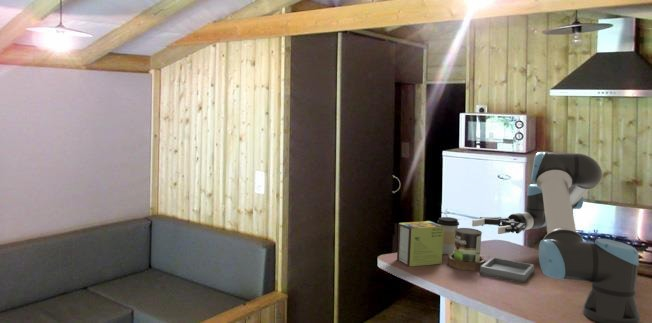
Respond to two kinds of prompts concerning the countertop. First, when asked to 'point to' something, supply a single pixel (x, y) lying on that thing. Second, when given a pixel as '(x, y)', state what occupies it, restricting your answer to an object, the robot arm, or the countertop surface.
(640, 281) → the countertop surface
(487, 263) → the tray
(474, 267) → the holder ring
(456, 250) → the coffee can
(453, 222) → the coffee cup
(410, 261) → the protein box
